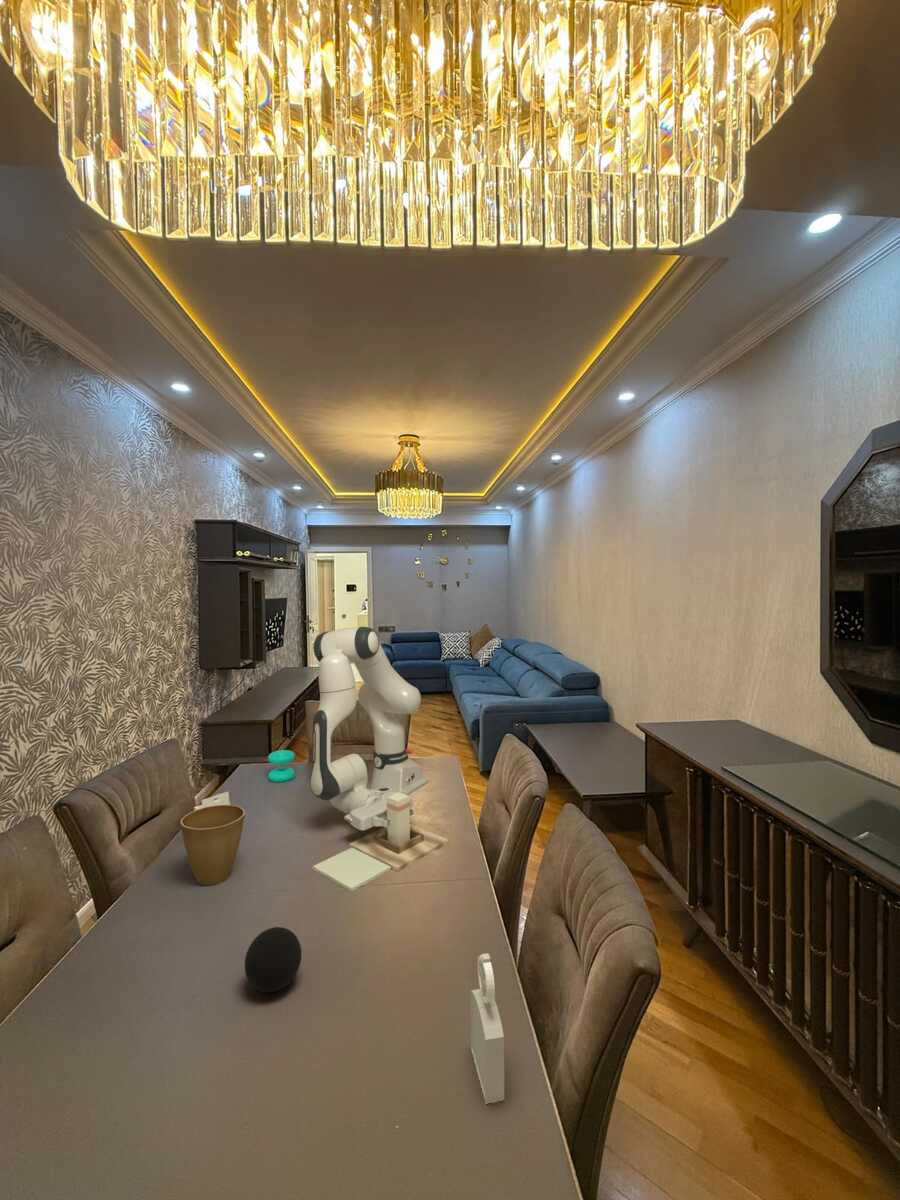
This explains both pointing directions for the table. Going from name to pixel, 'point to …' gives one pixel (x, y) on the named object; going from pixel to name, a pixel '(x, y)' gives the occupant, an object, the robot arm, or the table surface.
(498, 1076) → the grey block with loop
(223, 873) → the plant pot
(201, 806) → the ink cartridge box
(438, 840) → the wooden square socket board
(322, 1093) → the table surface
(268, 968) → the decorative ball
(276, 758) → the donuts
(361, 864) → the pad
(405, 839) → the banded cream pillar
